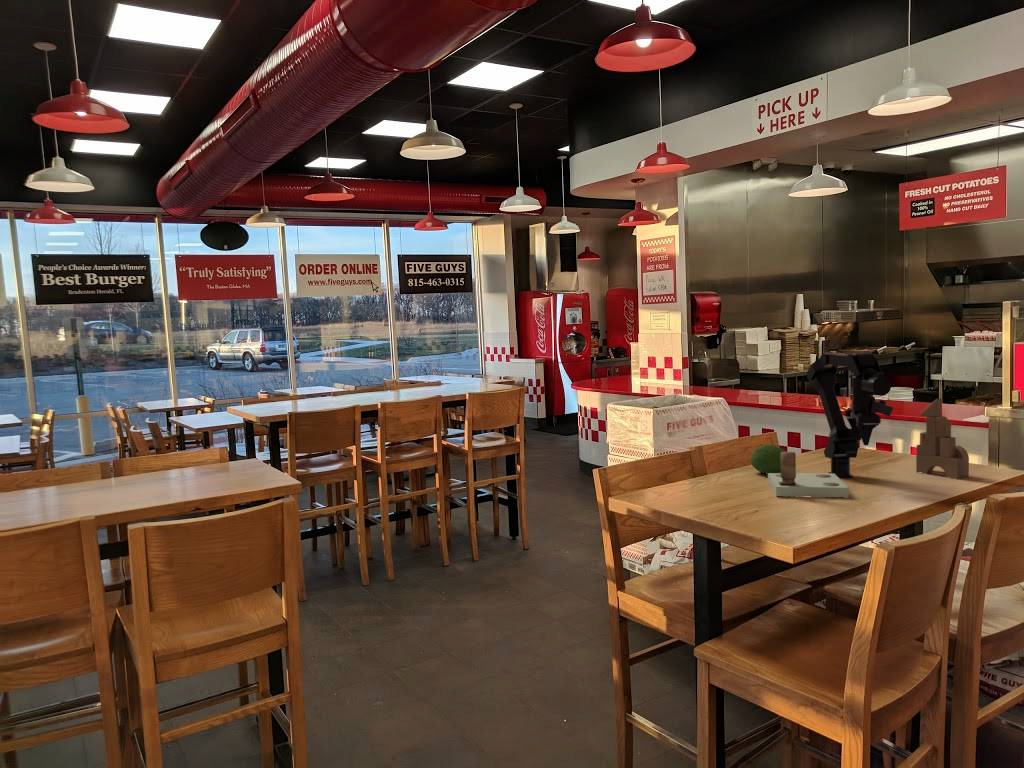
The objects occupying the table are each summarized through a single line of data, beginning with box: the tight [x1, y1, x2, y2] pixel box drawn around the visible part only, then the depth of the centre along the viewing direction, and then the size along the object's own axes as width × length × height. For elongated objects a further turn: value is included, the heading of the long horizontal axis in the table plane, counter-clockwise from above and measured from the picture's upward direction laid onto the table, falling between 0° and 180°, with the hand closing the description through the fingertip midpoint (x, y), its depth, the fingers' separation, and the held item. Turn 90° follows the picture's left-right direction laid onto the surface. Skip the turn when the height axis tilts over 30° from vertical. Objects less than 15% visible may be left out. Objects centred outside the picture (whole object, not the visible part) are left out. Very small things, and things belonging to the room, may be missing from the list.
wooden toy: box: [915, 398, 970, 480], centre depth 235 cm, size 15×7×25 cm, turn 27°
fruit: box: [750, 444, 786, 474], centre depth 246 cm, size 15×10×10 cm, turn 35°
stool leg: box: [781, 451, 797, 486], centre depth 217 cm, size 4×4×12 cm
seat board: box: [767, 472, 850, 499], centre depth 222 cm, size 20×20×3 cm
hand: (862, 442), depth 226 cm, fingers open, 9 cm apart
